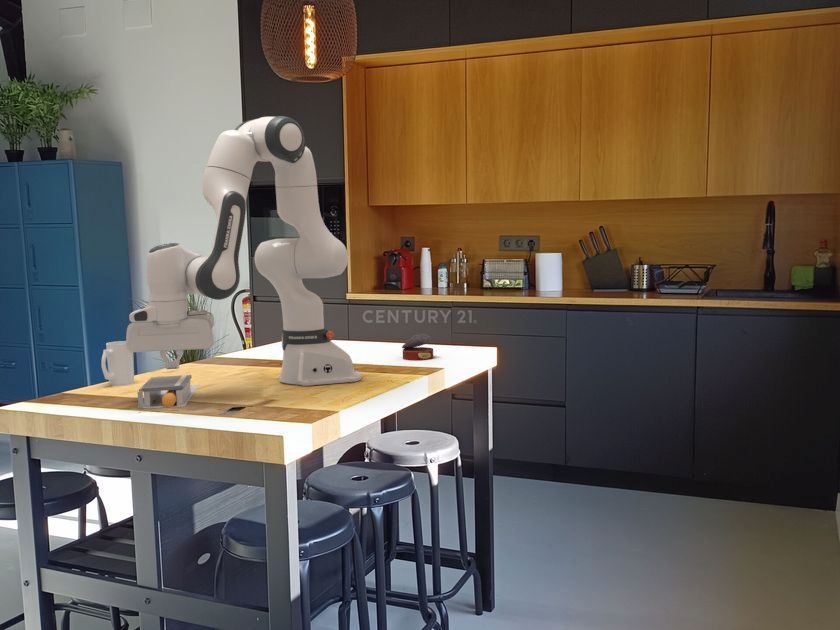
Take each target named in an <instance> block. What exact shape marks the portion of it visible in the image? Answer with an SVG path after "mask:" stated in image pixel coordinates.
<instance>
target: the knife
mask: <svg viewBox="0 0 840 630" xmlns="http://www.w3.org/2000/svg"><path fill="white" fill-rule="evenodd" d="M248 407H249V408H250V407H253V405H252V406H251V405H250V406H234V407H230V408H229V409H227V410H225V411H223V412H221V413H220V414H219V416H226V415H227V416H230V415H233V414H235V413H238V412H241V411H242V410H244V409H245V408H248Z"/></svg>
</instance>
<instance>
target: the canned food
mask: <svg viewBox="0 0 840 630" xmlns="http://www.w3.org/2000/svg"><path fill="white" fill-rule="evenodd" d="M431 340H432V337H431V336H430V335H428V334H427V333H419V334H414V335H412V337H409V339H408V340H407V341H406V342H405V343H404V344H403V345H402V346H401V349H402V360H404V361H410V362H411V361H413V362H415V361H416V362H417V361H418V362H419V361H420V362H421V361H429V360H433V359H434V348H432V347H424V346H423V345H426V344H428V343H430V342H431Z"/></svg>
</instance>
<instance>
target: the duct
mask: <svg viewBox="0 0 840 630" xmlns="http://www.w3.org/2000/svg"><path fill="white" fill-rule="evenodd" d="M198 387H199V384H192V385H191V380H190V381H189V382H188V384H187V385H186V386H185V388H184V389H179V390H176V398H177V401H176V402H175V404H174V405H173V406H171V407H170V408H174V407H175V408H177V407H179V408H180V407H186V405H188V402H189V401H190V400H191V398H192V396H193V395H194V393H196V390H197V388H198ZM167 391H168V390H164V391H149V392H143V391H139V390H138V391H137V393H136V394H137V409H140V410H141V409H155V408H156V409H158V408H159V409H160V408H168V407H167V406H165V405H164V404H163V403H162V398H163V396H164V395H165V394H166V393H167ZM170 411H171V412H174V411H178V409H176V410H175V409H173V410H170ZM154 412H156V413H157V412H159V410H158V411H153V410H152V411H151V413H154ZM139 413H140V411H139V412H138V414H139Z"/></svg>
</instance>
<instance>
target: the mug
mask: <svg viewBox="0 0 840 630" xmlns="http://www.w3.org/2000/svg"><path fill="white" fill-rule="evenodd" d="M105 346H106V347H105V348H106V349H103V352H102V356H101V361H100V362H101V365H100V367H101V369H102V373H103V376H104V379H105V380H108V382H109V384H108V385H110V386H116V387H117V386H127V385H128V386H129V385H132V384H134V383H135V369H134V364H135V361H134V352H129V351H128V350H127V348H126V340H124V341H123V340H122V341H121V340H119V341H111V342H106V344H105ZM106 361H107V362H106ZM106 363H107V365H106Z"/></svg>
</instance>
